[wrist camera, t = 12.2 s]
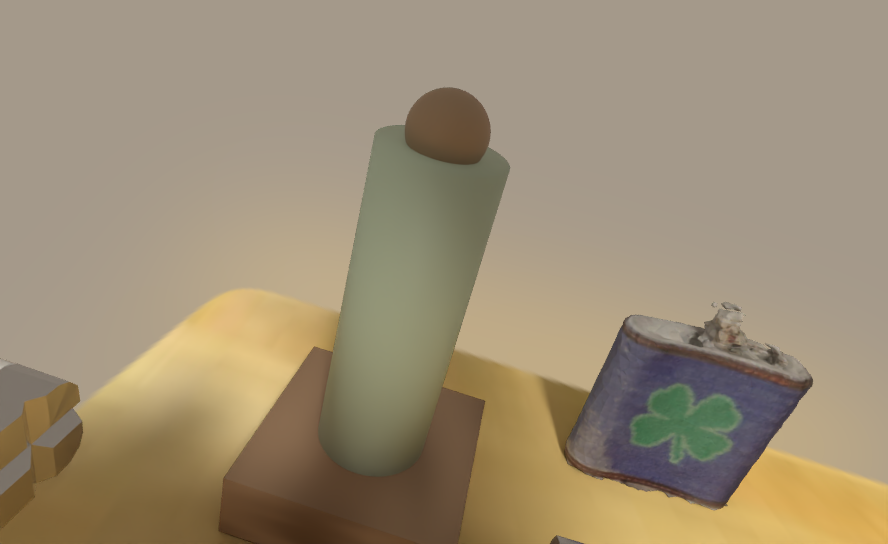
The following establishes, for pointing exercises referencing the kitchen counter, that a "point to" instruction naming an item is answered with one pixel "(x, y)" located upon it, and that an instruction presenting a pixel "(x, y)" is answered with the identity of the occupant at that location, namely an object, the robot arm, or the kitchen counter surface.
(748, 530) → the kitchen counter surface
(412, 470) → the plinth
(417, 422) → the pepper mill
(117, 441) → the kitchen counter surface
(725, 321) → the flask
